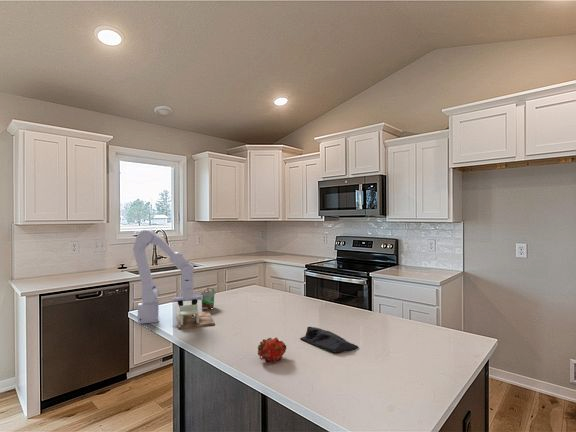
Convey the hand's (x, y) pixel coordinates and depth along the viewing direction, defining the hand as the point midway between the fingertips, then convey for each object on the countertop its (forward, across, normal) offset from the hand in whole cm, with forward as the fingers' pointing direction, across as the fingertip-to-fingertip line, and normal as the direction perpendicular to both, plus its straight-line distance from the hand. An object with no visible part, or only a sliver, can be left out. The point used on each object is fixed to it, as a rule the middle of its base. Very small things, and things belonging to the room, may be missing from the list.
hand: (187, 315), depth 163 cm
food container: (+2, -13, -15) cm, 20 cm away
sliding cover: (0, 0, +10) cm, 10 cm away
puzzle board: (+2, -3, +5) cm, 6 cm away
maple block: (+1, 0, 0) cm, 1 cm away
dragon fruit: (+2, -24, +60) cm, 65 cm away
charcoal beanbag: (+2, -50, +54) cm, 73 cm away
